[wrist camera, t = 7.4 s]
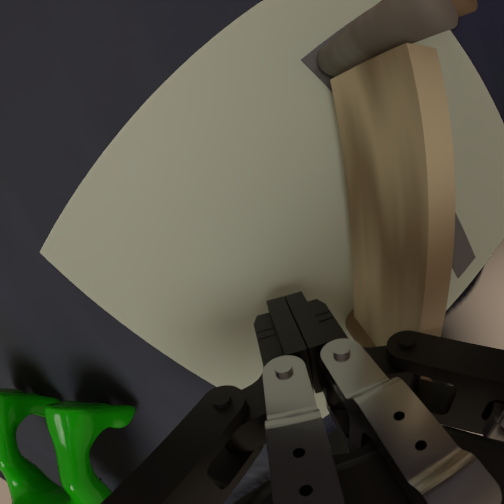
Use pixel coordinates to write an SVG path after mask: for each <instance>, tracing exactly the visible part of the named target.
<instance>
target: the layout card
mask: <svg viewBox="0 0 504 504" xmlns="http://www.w3.org/2000/svg"><path fill="white" fill-rule="evenodd" d="M380 1H382V0H263V1H261V2H260V3H258V4H257V5H256V6H254V7H253V8H251V9H250V10H248V11H247V12H246V13H244V14H243V15H242V16H240V17H239V18H237V19H236V20H235V21H234V22H232V23H231V24H230V25H228V26H227V27H226V28H224V29H223V30H222V31H221V32H219V33H218V34H217V35H216V36H215V37H213V38H212V39H211V40H210V41H209V42H207V43H206V44H205V45H204V46H203V47H202V48H200V49H199V50H198V51H197V52H196V53H195V54H194V55H192V56H191V57H190V58H189V59H188V60H187V61H186V62H185V63H184V64H183V65H182V66H180V67H179V68H178V69H177V70H176V71H175V72H174V73H173V74H172V75H171V76H170V77H169V78H168V79H167V80H166V81H165V82H164V83H163V84H162V85H161V86H160V87H159V88H158V89H157V90H156V91H155V92H154V93H153V94H152V95H151V97H150V98H149V99H148V100H147V101H146V102H145V103H144V104H143V105H142V106H141V107H140V109H139V110H138V111H137V112H136V113H135V114H134V115H133V116H132V118H131V119H130V120H129V121H128V122H127V123H126V125H125V126H124V127H123V128H122V129H121V131H120V132H119V133H118V134H117V136H116V137H115V138H114V139H113V140H112V142H111V143H110V144H109V146H108V147H107V148H106V149H105V151H104V152H103V153H102V155H101V156H100V157H99V159H98V160H97V161H96V163H95V164H94V165H93V167H92V168H91V170H90V171H89V172H88V174H87V175H86V177H85V178H84V180H83V181H82V182H81V184H80V185H79V187H78V188H77V190H76V191H75V193H74V194H73V196H72V198H71V199H70V201H69V202H68V204H67V205H66V207H65V209H64V210H63V212H62V213H61V215H60V217H59V218H58V220H57V222H56V223H55V225H54V227H53V229H52V230H51V232H50V234H49V236H48V238H47V239H46V241H45V243H44V245H43V247H42V249H41V250H40V253H41V254H42V255H43V256H44V257H45V258H46V259H47V260H48V261H49V262H50V263H51V264H52V265H53V266H55V267H56V268H57V269H58V270H59V271H60V272H61V273H62V274H63V275H64V276H65V277H67V278H68V279H69V280H70V281H71V282H72V283H73V284H74V285H76V286H77V287H78V288H79V289H80V290H81V291H82V292H84V293H85V294H86V295H87V296H88V297H90V298H91V299H92V300H93V301H94V302H96V303H97V304H98V305H99V306H100V307H102V308H103V309H104V310H105V311H107V312H108V313H109V314H110V315H112V316H113V317H114V318H116V319H117V320H118V321H119V322H121V323H122V324H123V325H125V326H126V327H127V328H129V329H130V330H131V331H133V332H134V333H135V334H137V335H138V336H139V337H141V338H142V339H144V340H145V341H146V342H148V343H149V344H151V345H152V346H154V347H155V348H156V349H158V350H159V351H161V352H162V353H164V354H165V355H167V356H168V357H170V358H171V359H173V360H174V361H176V362H177V363H179V364H180V365H182V366H183V367H185V368H187V369H188V370H190V371H191V372H193V373H195V374H196V375H198V376H199V377H201V378H203V379H204V380H206V381H208V382H209V383H211V384H213V385H214V386H216V387H219V386H224V385H231V386H235V387H238V388H239V389H241V390H242V389H244V388H246V387H248V386H250V385H251V384H253V383H254V382H256V381H257V380H258V379H259V377H260V376H261V374H262V372H263V363H262V358H261V354H260V350H259V345H258V341H257V337H256V333H255V328H254V322H255V319H256V317H257V316H258V315H261V314H265V313H269V311H268V307H267V303H266V301H267V300H271V299H275V298H278V297H282V296H283V297H284V296H285V295H289V294H292V293H296V292H299V291H301V292H302V293H303V295H304V296H305V298H306V300H307V302H308V301H311V300H314V299H318V300H320V301H321V302H323V303H325V304H326V305H327V307H328V308H329V310H330V312H331V313H332V314H333V316H334V318H335V319H336V320H337V322H338V323H339V325H340V326H341V328H342V329H343V331H344V332H345V334H346V335H347V337H348V338H349V339H352V340H354V339H353V338H352V336H351V335H350V333H349V332H348V330H347V329H346V326H345V321H346V318H347V316H348V314H349V313H350V312H351V311H352V310H353V309H354V293H353V263H352V244H351V229H350V216H349V205H348V195H347V185H346V177H345V168H344V160H343V153H342V146H341V139H340V132H339V126H338V120H337V114H336V109H335V103H334V98H333V92H332V87H331V82H330V80H331V79H332V78H334V77H333V76H330V75H328V74H326V73H325V72H323V71H322V70H321V68H320V67H319V65H318V62H317V55H318V53H319V51H320V50H321V49H322V48H323V47H324V46H326V45H327V44H328V43H329V42H330V41H332V40H333V39H334V38H335V37H336V36H338V35H339V34H340V33H341V32H343V30H344V29H345V28H346V27H348V26H349V25H350V24H351V23H353V22H354V21H355V20H356V19H358V18H359V17H360V16H362V15H363V14H364V13H365V12H367V11H368V10H369V9H371V8H372V7H373V6H375V5H376V4H378V3H379V2H380ZM413 44H417V45H423V46H428V47H433V48H436V50H437V53H438V57H439V62H440V66H441V70H442V75H443V80H444V85H445V90H446V96H447V101H448V108H449V115H450V122H451V130H452V140H453V152H454V167H455V233H454V249H453V260H452V270H451V279H450V286H449V293H448V300H447V306H446V310H447V309H448V308H449V307H450V306H451V305H452V304H453V303H454V301H455V300H456V299H457V298H458V297H459V296H460V295H461V293H462V292H463V291H464V290H465V289H466V287H467V286H468V285H469V284H470V283H471V281H472V280H473V279H474V278H475V276H476V275H477V274H478V272H479V271H480V270H481V269H482V267H483V266H484V265H485V263H486V262H487V261H488V259H489V258H490V257H491V255H492V254H493V252H494V251H495V250H496V248H497V247H498V245H499V244H500V243H501V241H502V240H503V238H504V123H503V121H502V119H501V117H500V114H499V112H498V110H497V108H496V106H495V104H494V102H493V100H492V98H491V96H490V94H489V92H488V90H487V88H486V86H485V85H484V83H483V81H482V79H481V77H480V76H479V74H478V72H477V70H476V69H475V67H474V65H473V64H472V62H471V60H470V59H469V57H468V56H467V54H466V53H465V51H464V50H463V48H462V47H461V45H460V44H459V42H458V41H457V39H456V38H455V36H454V35H453V34H452V32H451V31H450V30H448V31H445V32H442V33H439V34H436V35H434V36H431V37H428V38H426V39H423V40H420V41H418V42H415V43H413ZM313 390H314V388H313ZM314 397H315V401H316V405H317V408H318V409H319V410H320V413H321V416H322V418H324V417H325V416H327V415H328V414H329V411H328V409H327V407H326V399H325V396H324V394H323V392H320V393H317V394H316V393H315V391H314Z"/></svg>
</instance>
